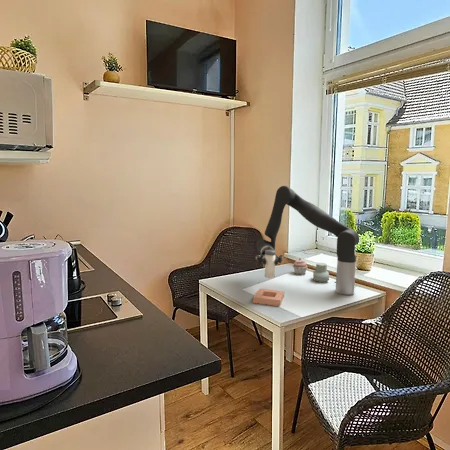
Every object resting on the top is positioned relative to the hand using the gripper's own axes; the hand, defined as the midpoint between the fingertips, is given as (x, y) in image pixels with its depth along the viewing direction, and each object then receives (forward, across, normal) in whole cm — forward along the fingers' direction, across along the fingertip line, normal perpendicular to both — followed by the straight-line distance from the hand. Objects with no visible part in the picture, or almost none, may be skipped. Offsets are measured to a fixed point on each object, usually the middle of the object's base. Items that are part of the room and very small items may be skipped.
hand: (270, 262), depth 177 cm
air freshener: (-35, +33, +20) cm, 52 cm away
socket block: (-3, 0, +20) cm, 20 cm away
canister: (-3, 0, +8) cm, 8 cm away
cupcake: (-48, +23, +20) cm, 57 cm away
